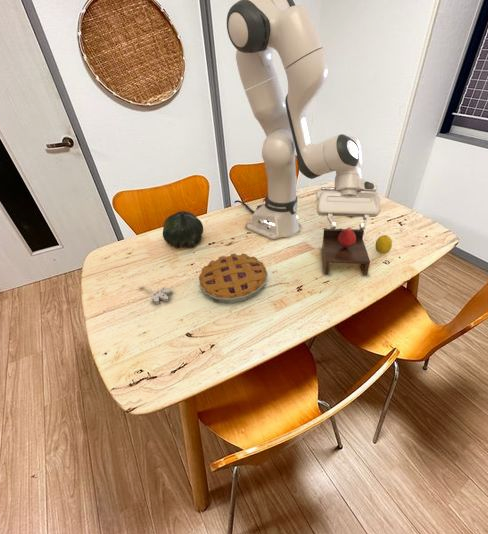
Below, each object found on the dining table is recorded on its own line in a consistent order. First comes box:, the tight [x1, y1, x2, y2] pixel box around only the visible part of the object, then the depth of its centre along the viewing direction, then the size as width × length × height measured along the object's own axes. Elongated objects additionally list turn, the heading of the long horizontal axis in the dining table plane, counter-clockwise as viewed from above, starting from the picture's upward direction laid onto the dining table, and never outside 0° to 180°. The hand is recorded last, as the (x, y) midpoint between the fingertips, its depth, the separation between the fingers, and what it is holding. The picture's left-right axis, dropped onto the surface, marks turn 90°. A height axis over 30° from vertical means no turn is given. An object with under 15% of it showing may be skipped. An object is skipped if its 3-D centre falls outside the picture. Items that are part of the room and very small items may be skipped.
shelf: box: [321, 228, 371, 277], centre depth 96 cm, size 15×14×9 cm
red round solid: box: [338, 226, 356, 248], centre depth 92 cm, size 6×6×8 cm
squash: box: [162, 210, 204, 249], centre depth 106 cm, size 14×15×15 cm
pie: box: [198, 253, 269, 304], centre depth 89 cm, size 22×22×5 cm
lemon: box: [374, 234, 393, 255], centre depth 100 cm, size 6×6×8 cm
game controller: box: [140, 287, 171, 305], centre depth 86 cm, size 6×12×3 cm, turn 79°
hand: (347, 228), depth 90 cm, fingers open, 8 cm apart
